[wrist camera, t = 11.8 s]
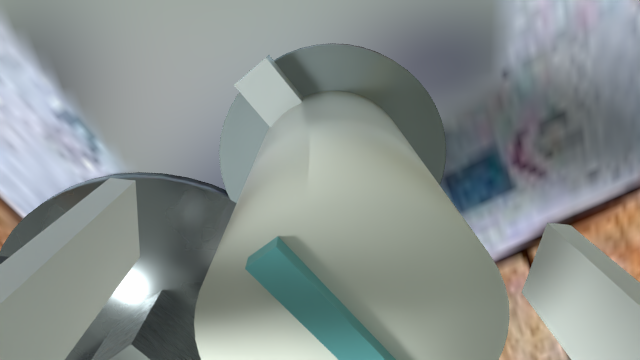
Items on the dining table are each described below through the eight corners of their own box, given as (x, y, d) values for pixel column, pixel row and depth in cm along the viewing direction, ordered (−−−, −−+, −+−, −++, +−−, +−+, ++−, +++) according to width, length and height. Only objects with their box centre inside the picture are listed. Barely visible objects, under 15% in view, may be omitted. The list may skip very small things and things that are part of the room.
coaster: (354, -11, 18) (356, -12, 17) (481, 174, 21) (487, 180, 20) (176, 141, 20) (171, 146, 19) (314, 284, 23) (314, 293, 23)
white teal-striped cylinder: (197, 116, 19) (28, 259, 8) (315, 15, 17) (312, 14, 6) (346, 277, 22) (375, 534, 11) (455, 206, 21) (614, 424, 10)
